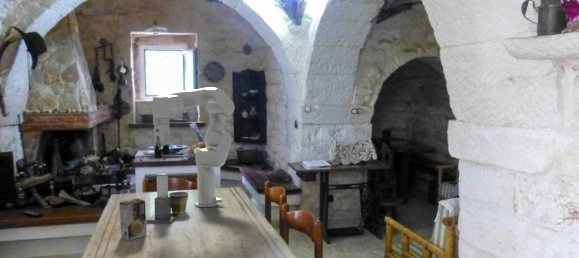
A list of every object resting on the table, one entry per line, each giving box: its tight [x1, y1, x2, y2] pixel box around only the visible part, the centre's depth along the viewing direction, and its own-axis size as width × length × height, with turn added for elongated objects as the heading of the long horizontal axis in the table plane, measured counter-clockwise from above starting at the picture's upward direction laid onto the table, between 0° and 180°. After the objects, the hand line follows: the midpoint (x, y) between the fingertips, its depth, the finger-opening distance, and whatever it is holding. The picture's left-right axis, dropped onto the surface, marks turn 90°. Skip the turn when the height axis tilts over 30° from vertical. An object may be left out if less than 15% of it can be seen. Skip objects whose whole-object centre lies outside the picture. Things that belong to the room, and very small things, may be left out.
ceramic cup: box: [168, 191, 189, 215], centre depth 240 cm, size 13×10×10 cm
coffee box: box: [119, 198, 147, 242], centre depth 201 cm, size 9×6×16 cm
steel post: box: [156, 172, 169, 198], centre depth 225 cm, size 4×4×16 cm
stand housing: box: [146, 195, 180, 225], centre depth 226 cm, size 12×12×12 cm
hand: (162, 156), depth 224 cm, fingers open, 9 cm apart
